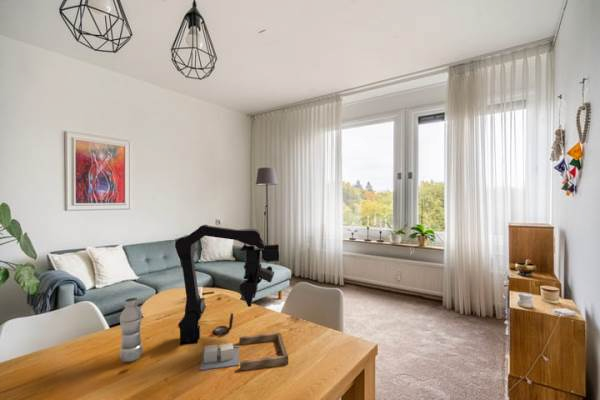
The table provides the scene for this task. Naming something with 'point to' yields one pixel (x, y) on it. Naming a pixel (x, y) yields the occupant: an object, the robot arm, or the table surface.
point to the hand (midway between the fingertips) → (251, 302)
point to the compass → (223, 327)
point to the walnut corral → (264, 361)
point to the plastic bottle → (131, 331)
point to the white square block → (226, 351)
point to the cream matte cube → (210, 353)
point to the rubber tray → (221, 363)
